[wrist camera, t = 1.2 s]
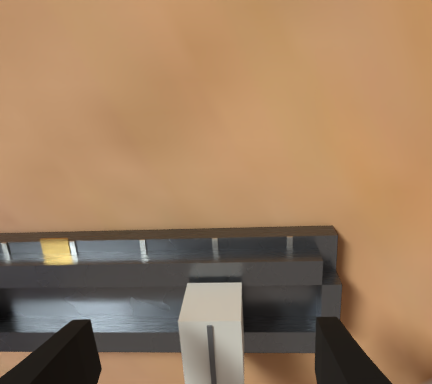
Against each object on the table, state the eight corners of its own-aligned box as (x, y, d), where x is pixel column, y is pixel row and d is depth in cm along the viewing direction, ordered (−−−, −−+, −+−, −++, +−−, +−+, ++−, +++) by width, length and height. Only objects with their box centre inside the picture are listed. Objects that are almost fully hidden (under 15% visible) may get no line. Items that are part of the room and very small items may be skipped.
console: (327, 333, 24) (336, 365, 21) (7, 333, 25) (-18, 363, 23) (333, 222, 21) (344, 244, 19) (-24, 230, 23) (-56, 252, 20)
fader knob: (244, 323, 22) (244, 389, 18) (196, 323, 22) (185, 388, 18) (241, 267, 21) (241, 322, 17) (191, 267, 21) (177, 323, 17)
